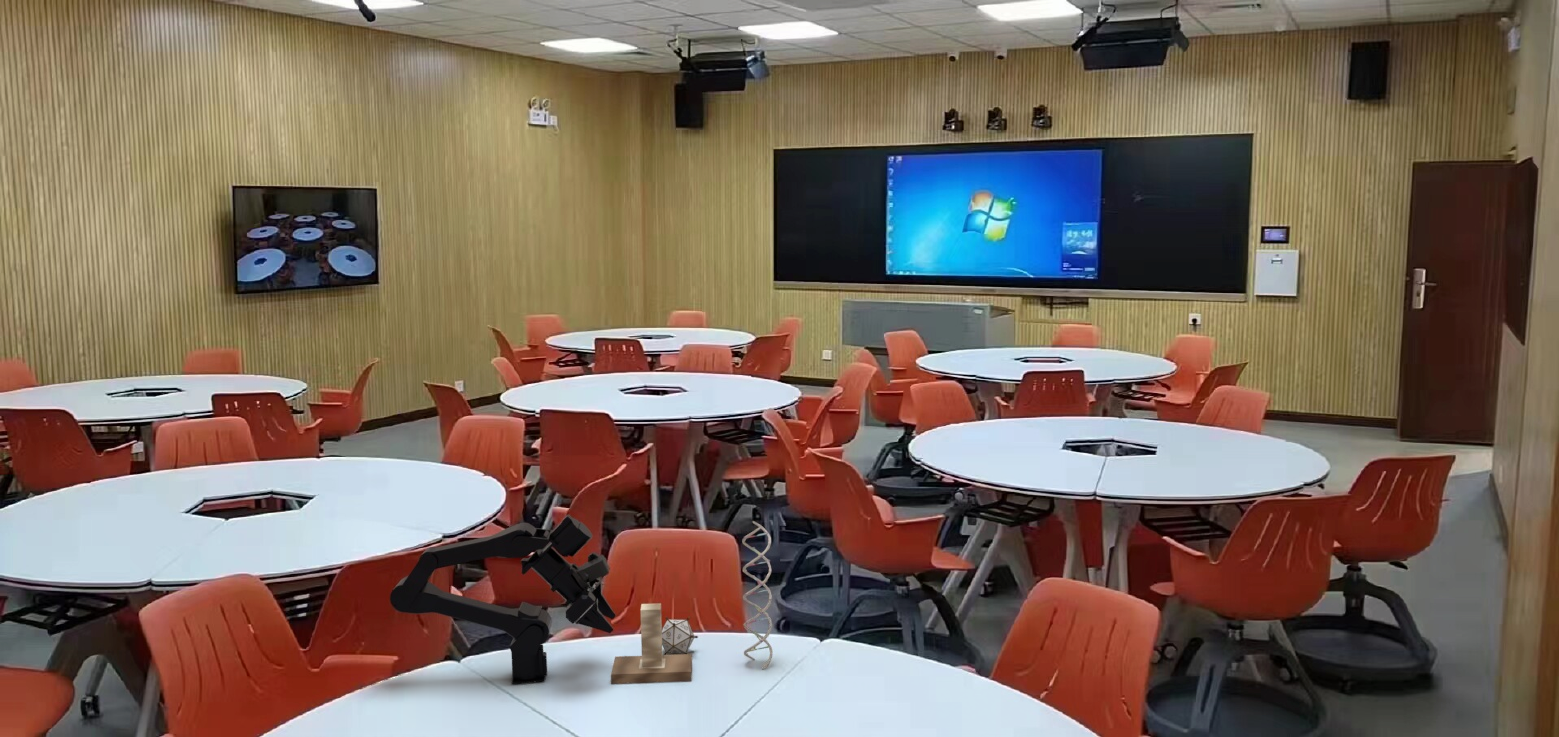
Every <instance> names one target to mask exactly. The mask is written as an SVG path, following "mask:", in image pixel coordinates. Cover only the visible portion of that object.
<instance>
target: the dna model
mask: <svg viewBox="0 0 1559 737" xmlns="http://www.w3.org/2000/svg"><path fill="white" fill-rule="evenodd" d="M751 522H752V523H753V524H754V525H755V526H757V528H755V529H754V530H753V531H752V532H750V533H748V534H747V535H745V536H743V538H742V540H741V541H742V545H743V546H745V547H747V548H748V549H750V550H751V551H752V552H754V553H755V554H757V556H756V557H755V558H753V559H751V560H750V561H749V562H748V563H746V564H745V565H744V566H743V567H742V572H743V573H744V574H745V575H746V576H748V577H750V578H751V579H753V580H755V582H757V585H756V586H755V587H754V588H752V589H750V590H749V591H747V592H746V593H743V596H742V600H743V601H744V602H746V603H748V604H749V605H751V606H752V607H754V608H755V609H756V610H757V611H758V613H757V614H756V615H755V616H753V617H751V618H750V619H748V620H746V621H745V622H744V623H743V628H744V629H745V630H747V631H748V632H750V633H751V634H753V635H755V637H756V638H757V639H758V641H757V642H756V643H754V644H753V645H752V646H750V647H748V648H747V649H745V650H744V651H743V655H744V656H745V657H746V658H749V659H750V660H752V661H755V658H754V657H753V656H751V655H750V654H749V652H753V651H758V650H762V649H769V657H768V659H767V660H766V662H765V664H764V665H763V666H762V667H761V669H762V670H765V669H766V668H767V667H768V666H769V664H770V662H771V660H772V659H773V655H774V654H773V647H772V645H771V644H770V642H769V641H768V640H767V638H769V636H770V634H771V631H772V628H773V622H772V618H771V617H770V616H769V613H768V612H766V611H767V610H768V609H769V607H770V606H771V604H772V600H773V596H772V592H771V588H769V587H768V585H766V583H768V579H769V578H770V576H771V574H772V566H771V563H770V562H771V559H768V558H767V557H766V556H765V554H766V553H767V552H768V551H769V550H770V549H771V548H770V547H771V544H772V537H771V534H770V533H769V531H767V530H766V529H765V528H764V526H762V524H759V523H758V522H756V521H754V520H752V521H751ZM760 530H762V531H763V533H758V534H757V535H754V534H756V533H757V532H758V531H760ZM760 536H766V537H767V538H768V542H767V546H766V547H765V549H763V550H764V551H762V552H760V551H759V550H757V549H756V547H755V546H753V547H752V546H750V545H749V544H748V543H747V542H746V540H747V539H749V538H754V537H760ZM761 558H762V559H763V560H764V561H760V562H758V563H757V561H758V560H759V559H761ZM755 562H756V563H755ZM760 564H767V566H768V573H767V575H766V576H765V578H764V580H761V579H759V578H758V577H756V576H755V575H753V574H751V573H750V572H748V570H747V568H748V567H752V566H756V565H760ZM760 587H764V588H765V589H763V590H759V591H758V592H757V591H756V590H758V589H759V588H760ZM755 591H756V592H755ZM763 592H767V594H768V595H769V596H768V601H767V603H766V606H765V607H763V608H761V606H759V605H757V604H756V603H754V602H752V601H750V600H749V599H748V598H747V597H748V596H750V595H754V594H757V593H758V594H759V593H763ZM761 615H764V616H765V617H763V618H759V619H758V622H759V621H763V620H768V622H769V626H768V630H767V632H766V633H765V634H764V636H763V635H760V634H759V633H758V632H756V631H755V630H753V629H751V628H749V627H748V626H747V625H748V624H752V623H755V622H757V618H758V617H760V616H761ZM762 643H765V644H766V646H762V647H758V646H759V645H760V644H762ZM756 647H758V648H756Z"/></svg>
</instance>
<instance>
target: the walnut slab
mask: <svg viewBox="0 0 1559 737" xmlns="http://www.w3.org/2000/svg"><path fill="white" fill-rule="evenodd" d="M662 658H663V660H662V667H642V655H624V656H623V655H622V656H615V657H614V659H613V663H612V664H613V665H612V668H611V669H612V670H611V674H610V683H611V685H619V684H621V685H623V684H627V685H628V684H644V683H645V684H647V683H648V684H649V683H650V684H651V683H652V684H653V683H679V682H692V671H693V667H692V666H693V654H692V653H687V654H679V653H676V654H666V655H664V654H662Z"/></svg>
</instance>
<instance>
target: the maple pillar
mask: <svg viewBox="0 0 1559 737" xmlns="http://www.w3.org/2000/svg"><path fill="white" fill-rule="evenodd" d="M662 622H663V621H662V603H661V602H660V603H641V605H640V636H641V637H640V638H641V639H640V642H641V656H642V667H662V660H663V658H662V655H663V645H662V628H663V625H662Z"/></svg>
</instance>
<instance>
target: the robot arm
mask: <svg viewBox="0 0 1559 737" xmlns="http://www.w3.org/2000/svg"><path fill="white" fill-rule="evenodd" d="M593 537H594V536H593V533H592V532H591V530H590V529H589V528H588V527H587V526H586V524H584V522H582V521H579V520H578V519H576V518H574V517H572V516H571V515H570V514H566V515H565V517H563V519H562V521H561V522H560V523H558V524H557V525H556V526H555V528H554V529H547V528H537V527H535V526H534V525H532V524H530V523H528V522H521V523H517V524H514V525H513V526H510V527H507V528H505V529H502V530H500V531H499V532H497V533H495V534H492V535H489V536H488V535H487V536H484V537H480V538H475V539H469V540H464V541H460V542H456V543H451V544H446V545H441V546H436V547H435V546H431V547H427V549H425V550H424V551H423V553H421V555H420V556H419V559H418V561H417V563H416V564H415V566H414V567H413V568H412V570H411V572H410V573H409V574H408V575H406V576H404V577H403V578H402V579H401V580H400V581H399V582H398V583H397V584H396V585H395V587H394V588H393V589H392V591H391V592H390V595H389V601H390V604H391V606H392V607H393V610H395V611H396V612H399V613H403V614H414V615H421V614H438V615H441V616H446V617H449V618H453V619H458V620H462V621H466V622H468V623H473V624H476V625H479V626H484V627H489V628H491V629H494V630H495V629H496V630H500V631H503V632H504V633H506V634H507V635H509V636H510V637H512V641H511V642H510V645H509V650H510V652H511V653H510V654H511V673H512V676H511V684H512V685H519V684H529V683H530V684H532V683H542V682H545V678H546V676H547V675H548V661H547V660H548V656H547V652H546V651H544V644H545V642H546V641H547V640H548V638H549V636H550V633H551V630H552V627H553V618H552V616H551V615H550V613H549V611H547V610H545V609H542V608H543V606H542V605H533V604H531V603H528V602H526V601H521V604H520V606H519V607H517V608H516V607H515V608H509V607H504V606H501V605H497V604H494V603H490V602H486V601H483V600H479V599H476V598H475V599H474V598H471V597H467V596H462V595H458V594H455V593H452V592H447V591H444V590H442V589H441V588H439V587H437V586H436V585H435V584H434V583H432V582H430V581H429V580H430V578H431V576H432V575H433V574H434V572H435V570H437V569H442V568H446V567H452V566H456V565H461V564H466V563H471V562H475V561H480V560H485V559H490V558H501V559H502V558H504V559H521V558H522V559H521V560H520V564H521V574H522V575H526V574H527V573H528V572H529V571H530V569H532V570H533V571H534V573H536V574H537V575H538V576H540V578H542V580H544V582H546V583H547V584H548V585H549V586H550V588H549V589H550V590H551V592H552V593H554V592H557V594H559V595H560V596H561V597H562V599H564V600H565V601H564V604H565V605H566V606H567V607H566V610H565V618H566V620H568V621H569V622H570V623H571V624H574V623H575V624H576V625H581V626H585V627H589V628H592V629H596V630H597V631H598V630H599V631H601V632H604V633H608V634H611V633H612V632H613V631H614V628H613V626H612V625H611V623H610V622H609V621H608V619H610V620H614V618H616V612H615V611H614V610H613V609H612V607H611V605H610V604H609V602H608V600H607V599H606V597H605V596H604V594H603V592H602V590H603V589H602V587H603V586H602V584H603V582H602V580H601V578H602V577H605V576H607V575H609V574H610V570H611V567H610V566H609V564H608V562H607V558H606V557H605V555H604V554H598V553H597V552H596V551H594V552H591V553H589V554H588V555H587V562H586V561H585V562H584V563H583V564H581V565H580V566H578V565H577V564H576V563H573V562H572V563H570V562H568V561H567V559H565V558H568V557H572V558H573V557H574V556H576V554H578V553H579V552H580V550H582V549H583V547H584V546H586V545H587V544H588V542H589V541H590V540H592V538H593ZM529 555H530V556H529ZM526 557H527V558H526ZM596 583H597V584H596ZM607 618H608V619H607Z"/></svg>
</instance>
